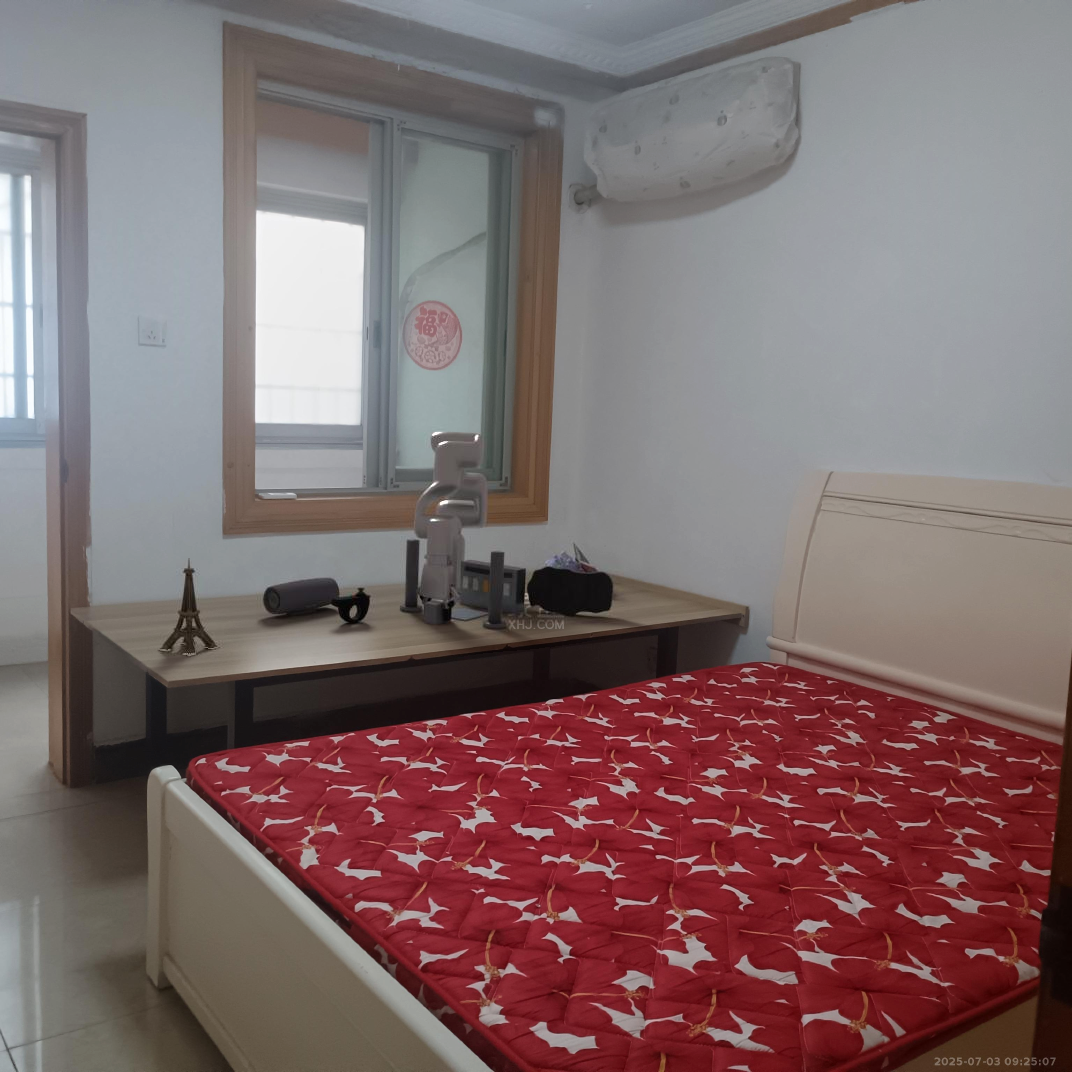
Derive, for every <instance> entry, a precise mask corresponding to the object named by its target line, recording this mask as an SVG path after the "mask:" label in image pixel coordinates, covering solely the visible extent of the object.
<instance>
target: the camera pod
mask: <svg viewBox="0 0 1072 1072" xmlns="http://www.w3.org/2000/svg"><path fill="white" fill-rule="evenodd" d="M444 608H445V606H444V603H443V600H438V599H434V600H433V599H432V600H431V601H429V602H426V603H424V605H423V623H425V624H429V625H435V626H438V625H441V624H444V623H448V622H450V621H447V622H443V609H444Z"/></svg>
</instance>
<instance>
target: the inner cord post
mask: <svg viewBox="0 0 1072 1072" xmlns="http://www.w3.org/2000/svg"><path fill="white" fill-rule="evenodd" d="M420 546H421V545H420V539H419V538H418V539H416V538H407V539H406V552H405V553H406V554H405V583H404V584H405V587H404V604H400V605H399V611H401V612H404V613H419V612H422V611H423V605H422V604H418V603H419V601H418V600H419V595H418V593H417V592H416V590H417V589H418V588H419V571H420Z"/></svg>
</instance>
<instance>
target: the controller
mask: <svg viewBox="0 0 1072 1072" xmlns="http://www.w3.org/2000/svg"><path fill="white" fill-rule="evenodd" d="M357 590H358V591H357V592H356V593H355V594H349V595H346V596H339V597H337V598H333V599H332V601H331V604H330V605H332V606H333V607H335V608H337V613H338V615H339V617H340V619H341V620H343V621H344V622H346V623H348V624H357V623H359V622H361V621H363V620H364V619H365V618H366V616H367V614H368V612H369V608H370V603H371V599H370V598H371V597H372V596H371V595H370V594H367V593H365V590H366V589H365V588H364V587H358V588H357ZM354 606H355V607H356V612H355V615H354V616H351V615H350V614H351V613H350V612H351V609H352V608H353V607H354Z"/></svg>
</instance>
